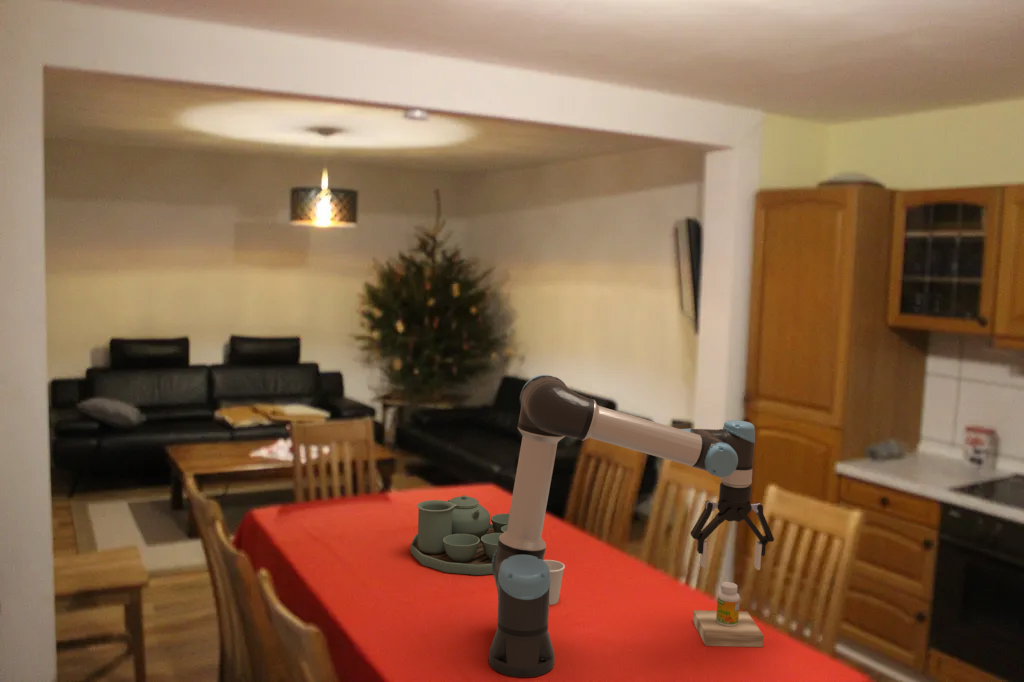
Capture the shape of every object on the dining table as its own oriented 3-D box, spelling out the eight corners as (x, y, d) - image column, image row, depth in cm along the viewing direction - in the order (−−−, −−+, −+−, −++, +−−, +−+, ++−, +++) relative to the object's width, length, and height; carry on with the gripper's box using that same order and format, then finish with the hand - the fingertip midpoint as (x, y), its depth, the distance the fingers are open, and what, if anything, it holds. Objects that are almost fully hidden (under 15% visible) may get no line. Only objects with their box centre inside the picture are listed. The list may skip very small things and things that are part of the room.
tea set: (486, 587, 244) (488, 530, 243) (384, 555, 268) (385, 502, 266) (563, 551, 276) (565, 500, 275) (466, 525, 300) (467, 478, 298)
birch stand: (762, 647, 212) (763, 635, 212) (705, 645, 212) (706, 633, 211) (746, 622, 226) (747, 611, 225) (692, 621, 226) (693, 610, 225)
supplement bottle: (712, 622, 218) (714, 585, 217) (722, 616, 222) (724, 579, 221) (732, 628, 215) (734, 590, 214) (741, 622, 219) (744, 584, 218)
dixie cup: (537, 608, 231) (539, 571, 230) (528, 595, 239) (530, 560, 238) (567, 605, 233) (569, 569, 232) (557, 593, 241) (559, 558, 240)
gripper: (781, 481, 219) (774, 563, 221) (682, 477, 218) (677, 559, 220) (790, 489, 211) (784, 574, 213) (688, 485, 211) (683, 570, 213)
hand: (729, 567), depth 217 cm, fingers open, 13 cm apart
